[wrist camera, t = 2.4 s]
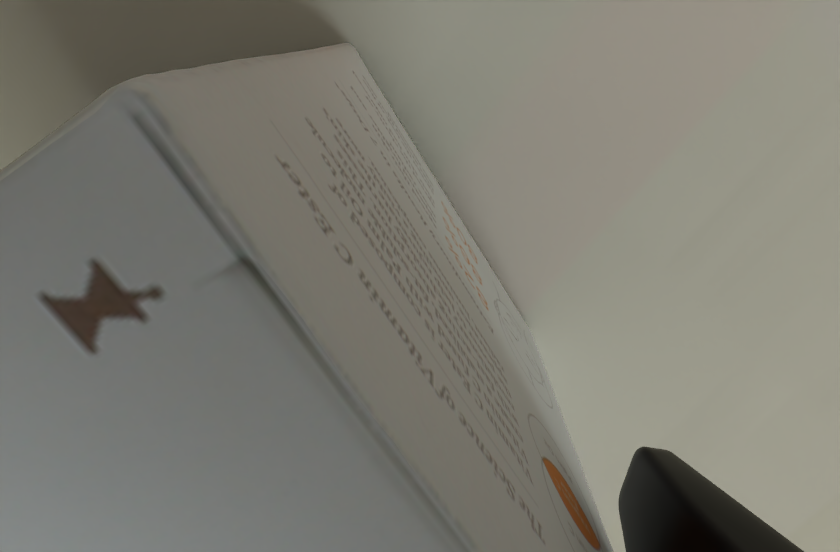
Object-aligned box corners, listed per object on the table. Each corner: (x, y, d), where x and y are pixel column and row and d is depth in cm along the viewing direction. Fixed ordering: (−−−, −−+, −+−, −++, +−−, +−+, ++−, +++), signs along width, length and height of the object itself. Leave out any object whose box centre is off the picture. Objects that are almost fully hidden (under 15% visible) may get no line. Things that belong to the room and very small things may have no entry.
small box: (147, 176, 14) (-587, 545, 4) (355, 34, 12) (87, 31, 3) (348, 433, 16) (225, 1058, 6) (537, 334, 15) (750, 909, 5)
